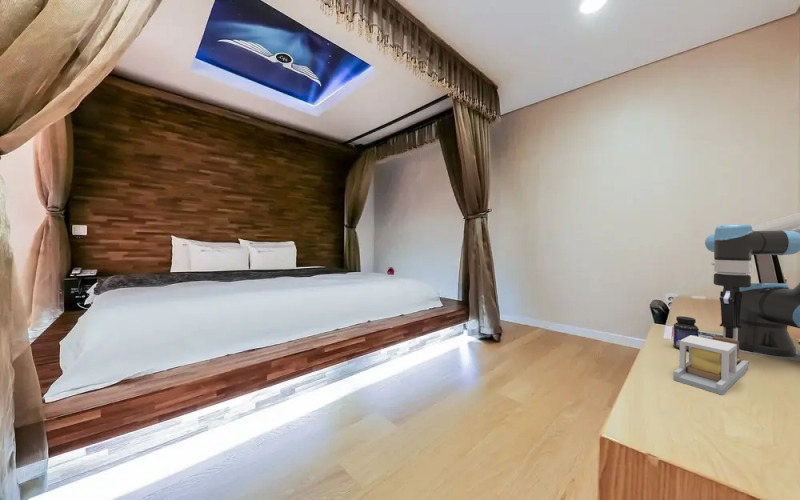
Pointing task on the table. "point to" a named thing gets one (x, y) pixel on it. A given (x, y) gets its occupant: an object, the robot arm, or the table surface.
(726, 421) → the table surface
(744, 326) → the robot arm
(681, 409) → the table surface
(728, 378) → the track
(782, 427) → the table surface
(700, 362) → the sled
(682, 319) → the pill bottle
